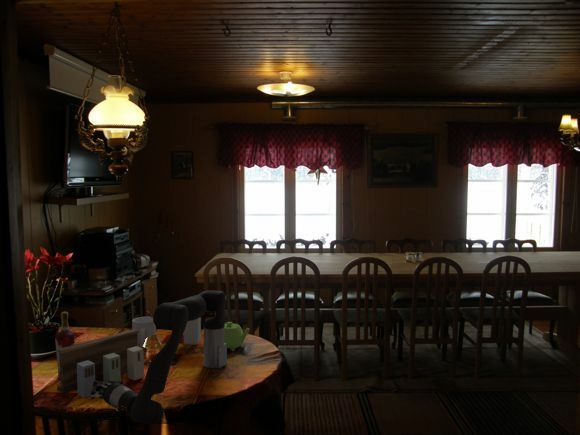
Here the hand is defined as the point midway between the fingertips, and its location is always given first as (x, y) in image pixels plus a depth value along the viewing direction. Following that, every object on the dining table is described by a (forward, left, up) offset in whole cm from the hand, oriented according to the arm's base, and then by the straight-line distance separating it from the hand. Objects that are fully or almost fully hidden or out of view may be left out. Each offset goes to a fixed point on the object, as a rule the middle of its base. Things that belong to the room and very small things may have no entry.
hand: (95, 383), depth 176 cm
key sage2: (+4, -12, -6) cm, 14 cm away
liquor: (+25, -8, -7) cm, 27 cm away
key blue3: (+7, -2, -6) cm, 9 cm away
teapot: (-14, -70, -7) cm, 72 cm away
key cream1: (+1, -22, -6) cm, 23 cm away
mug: (+25, -53, -7) cm, 59 cm away
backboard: (+13, -14, -6) cm, 21 cm away
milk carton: (+7, -68, -7) cm, 69 cm away
